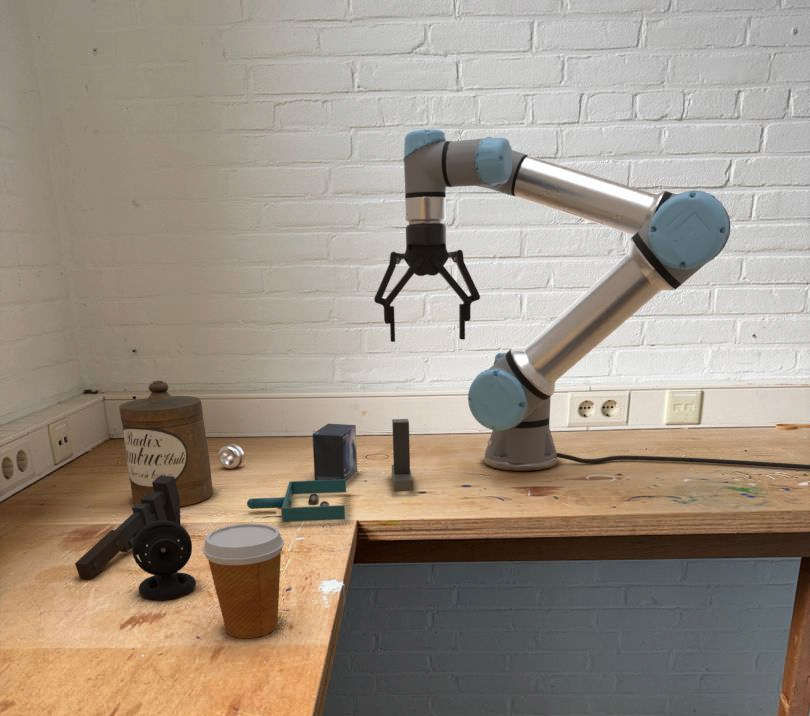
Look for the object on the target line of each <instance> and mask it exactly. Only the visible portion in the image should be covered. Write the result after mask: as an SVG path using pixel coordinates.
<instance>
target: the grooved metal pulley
mask: <svg viewBox="0 0 810 716" xmlns="http://www.w3.org/2000/svg"><path fill="white" fill-rule="evenodd" d="M217 459H218V462H219V464H220V465H221V466H222V467H223V468H225V469H226V470H227V469H228V470H233V469H235V468H237V467H240V466H242V465H243V463H244V461H245V452H244V450H243V448H241V446H240V445H238V444H236V443H229V444H227V445H225V446H222V447H221V448H220V449H219V451H218V454H217Z"/></svg>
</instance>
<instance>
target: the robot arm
mask: <svg viewBox="0 0 810 716" xmlns="http://www.w3.org/2000/svg"><path fill="white" fill-rule="evenodd" d="M510 144H511V143H510V141H509V140H508V139H507V138H505V137H491V136H486V137H484V138H474V139H464V140H454V141H453V140H447V139H446V133H445V132H444V131H443V130H442V129H435V128H431V129H430V128H429V129H424V128H423V129H422V128H421V129H416V130H415V129H414V130H411V131H408V132H407V133H406V135H405V136H404V144H403V145H404V148H403V169H404V198H405V199H404V203H405V204H404V205H405V211H404V212H405V213H404V214H405V221H406V223H408V224H407V225H406V227H405V252H396V251H391V252H390V253H389V260H388V261H389V262H388V266H387V268H386V270H385V272H384V275H383V277H382V279H381V282H380V284H379V287H378V288H377V291H376V293H375V296H374V297H373V298H374V299H373V300H374V303H376V304H379V305H381V306H382V307H383V321H384V323H385V324H386V325H389V332H390V333H389V336H390V342H391V343H395V342H396V323H395V306H394V305H391V304H392V303H393V302H394V300H395V299H396V298H397V297H398V295H399V294H400V293H401V291H402V290H403V288H405V286H406V285H407V283H409V281H410V279H411V278H412V277H413V276H414V275H416V276H418V277H424V276H430V277H431V276H432V277H434V276H437V275H438V274H439V275H440V276H441V277H442V278H443V279H444V280H445V282H446V283H447V284H448V286H449V287H450V288H451V289H452V290H453V292H454V293H455V294H456V295H457V297H459V299H460V300H461V301H462V302H463V303H459V304H458V305H459V306H458V308H459V310H458V311H459V312H458V313H459V314H458V315H459V316H458V317H459V318H458V320H459V321H458V323H459V324H458V328H459V330H458V331H459V336H458V337H459V339H460V340H463V341H464V340H466V322H470V321H471V305H472V303H474V302H476V301H479V300H480V299H481V295H480V293H479V290H478V288H477V287H476V284H475V282H474V280H473V278H472V275H471V273H470V272H469V269H468V267H467V266H466V263H465V261H464V260H465V259H464V252H463V250H462V249H457V250H454V251H448V249H447V225H446V224H445V223H444V222H445V221H446V220H447V204H446V203H447V200H446V199H447V196H446V195H447V193H446V190H447V188H454V187H455V188H456V187H480V188H484V189H489V190H493V191H494V192H499V193H502V194H505V195H508V196H511V197H515V198H519V199H521V200H525V201H527V202H530V203H533V204H537V205H539V206H542V207H546V208H549V209H552V210H555V211H557V212H561V213H563V214H567V215H570V216H573V217H576V218H579V219H582V220H585V221H589V222H592V223H594V224H596V225H597V224H598V225H600V226H603V227H607V228H610V229H612V230H616V231H618V232H621V233H624V234H627V235H631V237H630V238H629V248H628V251H627V253H626V254H625V255H624V256H623V257H622V258H621V259H620V260H618V261H617V262H616V263H615V264H614V265H613V266H612V267H611V268H610V269H608V271H606V272H605V273H604V274H603V275H602V276H601V277H600V278H598V280H596V281H595V282H594V283H593V284H592V285H591V286H590V287H589V288H588V289H587V290H586V291H585V292H584V293H582V294H581V295H580V296H579V297H578V298H577V299H575V300H574V301H573V302H572V303H571V304H570V305H569V306H568V307H567V308H566V309H565V310H564V311H563V312H561V314H559V315H558V316H557V317H556V318H555V319H554V320H553V321H552V322H551V323H549V324H548V325H547V326H546V327H545V328H544V329H543V330H542V331H541V332H540V333H539V334H537V335H536V336H535V337H534V338H533V339H532V340H531V341H530V342H529V343H528V344H527V345H525V346H518V345H514V346H513V347H511V348H510V349H509V350H508V351H507V352H498V353H496V354H495V356H494V362H493V364H492V365H491V367H489V368H488V369H485V370H484V371H481V372H480V373H479V374H477V375H476V377H475V378H474V379H473V381H472V382H471V384H470V387H469V389H468V395H467V402H468V406H469V407H468V408H469V410H470V412H471V415H472V416H473V418H474V419H475V420H476V421H477V423H479V424H480V425H481V426H482V427H484V428H486V429H488V430H492V431H491V434H490V437H489V438H488V440H487V446H486V449H485V452H484V463H485V465H487V466H489V467H490V468H493V469H498V470H503V471H511V472H512V471H513V472H515V471H516V472H533V471H541V470H547V469H550V468H552V467H555V466H556V465H557V464H558V458H559V459H564V460H569V461H573V462H576V463H579V464H580V463H581V464H600V463H606V462H612V461H648V462H649V461H650V462H651V461H652V462H674V463H675V462H676V463H677V462H678V463H699V464H702V463H703V464H717V465H734V466H750V467H766V468H778V469H779V468H783V469H794V470H795V469H796V470H810V464H806V463H805V464H804V463H803V464H802V463H791V462H790V463H787V462H773V461H758V460H757V461H755V460H741V459H739V460H738V459H725V458H724V459H723V458H706V457H705V458H704V457H685V456H683V457H682V456H660V455H659V456H657V455H654V456H653V455H629V454H628V455H627V454H626V455H625V454H624V455H611V456H604V457H600V458H599V457H598V458H581V457H577V456H574V455H572V454H571V455H570V454H565V453H561V452H557V449H556V446H555V443H554V439H553V436H552V431H551V427H550V422H551V421H550V417H551V398H552V396H553V395H554V394H555V392H556V391H555V390H556V389H555V388H556V382H557V381H558V380H559V379H560V378H562V377H563V375H565V374H566V373H567V372H569V370H572V368H573V367H574V366H575V365H577V364H578V363H579V362H580V361H581V360H582V359H583V358H585V357H586V356H587V355H588V354H589V353H590V352H591V351H593V350H594V349H595V348H596V347H597V346H598V345H600V344H601V343H602V342H603V341H604V340H605V339H607V338H608V337H609V336H610V335H612V333H614V332H615V331H616V330H617V329H618V328H620V327H621V326H622V325H623V324H624V323H625V322H626V321H627V320H629V319H630V318H631V317H632V316H633V315H635V314H636V313H637V312H638V311H639V310H640V309H641V308H642V307H644V306H645V305H646V304H648V302H650V301H651V300H652V299H653V298H655V296H656V295H658V294H659V293H660V292H663V291H676V290H677V289H678V288H679V287H681V286H682V284H684V283H685V282H687V280H689V279H690V278H692V276H693V275H694V274H696V273H697V272H698V271H700V270H701V269H702V268H703V267H704V266H705V265H707V264H708V263H709V262H711V261H713V260H714V259H715V258H717V257H718V256H719V254H721V253H722V251H723V250H724V249H725V247H726V245H727V243H728V241H729V238H730V234H731V219H730V215H729V213H728V211H727V209H726V207H725V206H724V205H723V202H721V201H720V200H719V199H718V198H717V197H716V195H713V194H711V193H709V192H706V191H702V190H686V191H683V192H679V193H673V192H671V191H667V190H663V191H661V192H659V193H657V194H655V193H652V192H649V191H646V190H643V189H639V188H637V187H636V188H635V187H633V186H629V185H627V184H623V183H619V182H617V181H613V180H610V179H607V178H604V177H600V176H597V175H594V174H590V173H589V172H584V171H581V170H578V169H574V168H571V167H569V166H566V165H561V164H558V163H556V162H552V161H549V160H545V159H543V158H539V157H536V156H533V155H528V154H525V153H524V152H519V151H517V150H513V149H512V145H510ZM449 259H451V261H452V263H455V264H456V267H457V269H458V271H459V273H460V275H461V278H462V279H463V281H464V284H465V286H466V288H467V289H468V291H469V294H470V295H468V294H467V293H466V292H465V290H463V288H462V286H460V284H459V283H458V282H457V281H456V280H455V278H454V277H453V276H452V274H450V272H449V271H448V270H447V268H446V267H445V264H446V263H447V262H448V260H449ZM402 260H404V262H405V263H406V264H407V265H408V268H407V270H405V272H404V274H403V275H402V276H401V277H400V279H399V280H398V282H397V283H396V284H395V285H394V287H392V288H393V289H392V290H391V291H390V292H389V294H388V295H387V296H386V297H385V298H384V294H385V292H386V290H387V287H388V285H389V283H390V281H391V280H392V276H393V274H394V271H395V269H396V266H397V265H399V264H401V261H402Z"/></svg>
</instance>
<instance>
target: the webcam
mask: <svg viewBox="0 0 810 716" xmlns="http://www.w3.org/2000/svg"><path fill="white" fill-rule="evenodd" d="M131 552H132V557H133V559H134V561H135V563H136V565H137V566H138V567H139V568H140V569H141V570H142V571H143V572H145V573H147V574H149V575H151V576H149V577H147V578H145V579H143V580H142V581H141V582H140V584H139V586H138V593H139V594H140V595H141V596H142V597H143V598H145V599H149V600H154V601H155V600H156V601H170V600H174V599H179V598H181V597H184V596H186V595H187V594H190V593H191V592H193V591H194V589H195V588H196V584H197V581H196V579H195V577H194V576H193V575H192V574H189V573H186V572H179V571H181V570H182V569H184V567H185V566H186V565H187V564H188V562H189V560H190V558H191V556H192V552H193V542H192V539H191V535H190V534H189V532H188V531H187V530H186V528H184V526H182V525H179V524H178V523H176V522H172V521H167V520H158V521H153V522H151V523H149V524H147V525H145V526H144V527H142V528H141V529H140V530H139V531H138V532H137V534H136V536H135V538H134V540H133V544H132V549H131ZM155 586H156V587H155ZM153 587H155V588H153Z"/></svg>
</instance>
